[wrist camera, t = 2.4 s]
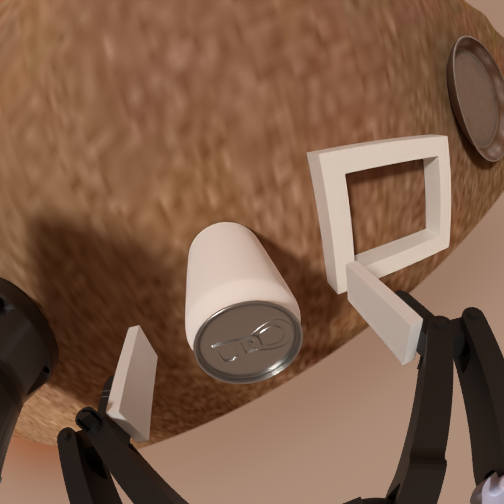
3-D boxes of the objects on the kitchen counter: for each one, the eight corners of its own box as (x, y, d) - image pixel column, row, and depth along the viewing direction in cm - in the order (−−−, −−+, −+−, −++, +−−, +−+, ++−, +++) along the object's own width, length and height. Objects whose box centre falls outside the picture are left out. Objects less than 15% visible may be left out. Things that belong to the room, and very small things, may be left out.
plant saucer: (500, 83, 22) (513, 83, 19) (491, 176, 27) (506, 180, 25) (437, 15, 17) (452, 10, 14) (428, 122, 23) (447, 123, 20)
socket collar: (327, 282, 27) (338, 294, 25) (306, 152, 22) (318, 154, 19) (435, 239, 28) (448, 246, 26) (431, 134, 23) (447, 135, 21)
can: (270, 273, 25) (320, 363, 14) (205, 298, 25) (216, 401, 14) (248, 209, 23) (295, 271, 12) (176, 237, 22) (160, 323, 12)
